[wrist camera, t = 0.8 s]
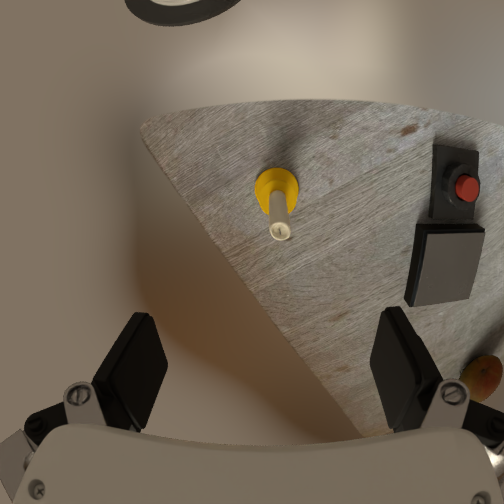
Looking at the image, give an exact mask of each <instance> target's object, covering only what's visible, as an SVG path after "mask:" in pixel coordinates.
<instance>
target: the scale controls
mask: <svg viewBox="0 0 504 504" xmlns="http://www.w3.org/2000/svg"><path fill="white" fill-rule="evenodd" d="M478 164H479V151H474V150H469V149H462V148H456V147H449V146H442V145H435V144H433V158H432V183H431V197H430V208H429V217H430V218H431V219H473V217H474V209H475V202H476V200H477V198H478V196H479V193H480V180H479V176H478ZM461 175H467V176H469V177H472V178H474V179H476V181H477V182H478V186H479V192H478V195H477V197H476V199H475V200H474V201H472V202H468V201H466V200H463V199H461V198H460V197H458V195H457V194H456V191H455V184H456V181H457V179H458V178H459V177H460V176H461Z"/></svg>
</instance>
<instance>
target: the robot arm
mask: <svg viewBox="0 0 504 504" xmlns="http://www.w3.org/2000/svg"><path fill="white" fill-rule="evenodd" d="M151 1H153V2H155V3H157V4H161V5H167V6H179V5H185V4H190V3H193V2H197V1H199V0H151ZM370 367H371V370H372V373H373V376H374V379H375V383H376V386H377V389H378V392H379V395H380V399H381V402H382V405H383V409H384V412H385V416H386V419H387V423H388V426H389V428H390V429H392V428H393V431H394V433H392V434H387V435H381V436H376V437H369V438H363V439H356V440H349V441H341V442H333V443H321V444H307V445H285V446H248V445H228V444H214V443H203V442H194V441H186V440H178V439H172V438H166V437H159V436H154V435H148V434H143V433H140V432H141V429H144V428H145V427H146V424H147V421H148V419H149V416H150V413H151V411H152V408H153V405H154V403H155V400H156V397H157V395H158V392H159V389H160V387H161V384H162V381H163V379H164V376H165V374H166V371H167V368H168V362H167V359H166V356H165V353H164V350H163V347H162V344H161V341H160V338H159V335H158V332H157V329H156V325H155V322H154V319H153V317H151V316H149V314H148V313H141V312H139V313H138V312H135V313H134V314H133V315H132V317H131V318H130V320H129V321H128V323H127V324H126V326H125V328H124V329H123V331H122V332H121V334H120V335H119V337H118V339H117V340H116V341H115V343H114V345H113V346H112V348H111V350H110V351H109V353H108V354H107V356H106V358H105V359H104V361H103V362H102V364H101V366H100V367H99V369H98V371H97V372H96V374H95V376H94V378H93V381H92V382H91V384H90V383H88V382H76V383H74V384H72V385H71V386H69V387H68V388H67V390H66V391H65V393H64V396H63V400H64V401H63V402H61V403H59V404H56V405H54V406H51V407H49V408H46V409H44V410H41V411H39V412H36V413H34V414H32V415H30V416H29V417H28V418H27V420H26V422H25V425H24V431H22V430H21V429H19V430H18V431H17V432H15V433H14V434H13V435H11V436H10V437H8V438H7V439H6V440H4V441H3V442H2V443H0V480H1V482H2V484H3V486H4V488H5V490H6V492H7V494H8V496H9V498H10V499H11V501H12V504H504V413H502V412H500V411H498V410H495V409H492V408H490V407H488V406H485V405H483V404H481V403H478V402H476V401H473V400H471V399H470V391H469V389H468V387H467V386H466V385H465V384H464V383H463V382H462V381H460V380H457V379H446V380H443V378H442V376H441V374H440V372H439V370H438V369H437V367H436V365H435V363H434V361H433V359H432V357H431V355H430V354H429V352H428V350H427V348H426V346H425V345H424V343H423V341H422V339H421V338H420V337H419V336H418V335H417V334H416V332H415V330H414V329H413V327H412V325H411V324H410V322H409V320H408V318H407V317H406V315H405V313H404V312H403V310H402V309H401V307H400V306H395V307H387V308H386V309H385V311H382V312H381V316H380V320H379V325H378V329H377V333H376V337H375V341H374V345H373V349H372V353H371V356H370Z"/></svg>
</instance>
